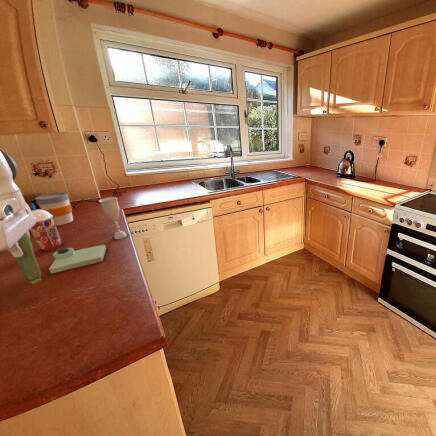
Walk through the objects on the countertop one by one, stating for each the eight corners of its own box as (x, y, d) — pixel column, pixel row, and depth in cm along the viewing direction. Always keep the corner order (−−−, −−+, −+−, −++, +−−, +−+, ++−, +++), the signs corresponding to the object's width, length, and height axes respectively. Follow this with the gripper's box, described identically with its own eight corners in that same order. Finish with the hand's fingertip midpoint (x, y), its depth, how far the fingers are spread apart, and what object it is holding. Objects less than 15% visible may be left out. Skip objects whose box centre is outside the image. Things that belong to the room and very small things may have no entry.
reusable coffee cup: (78, 216, 140) (68, 190, 134) (76, 222, 130) (65, 195, 125) (49, 221, 133) (37, 195, 127) (45, 229, 124) (32, 201, 118)
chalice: (110, 236, 113) (98, 199, 106) (127, 231, 117) (116, 196, 110) (112, 241, 108) (99, 203, 101) (130, 236, 112) (118, 199, 105)
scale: (49, 274, 86) (45, 265, 84) (59, 258, 96) (55, 250, 94) (102, 261, 93) (99, 253, 91) (106, 247, 103) (103, 240, 101)
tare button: (57, 255, 92) (55, 251, 91) (59, 252, 94) (58, 248, 93) (67, 253, 93) (66, 249, 92) (69, 249, 95) (68, 246, 95)
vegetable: (26, 282, 71) (-7, 219, 63) (46, 275, 74) (17, 214, 66) (30, 288, 68) (-4, 223, 61) (50, 280, 72) (21, 217, 64)
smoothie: (69, 244, 106) (50, 201, 99) (45, 254, 99) (22, 208, 92) (59, 241, 109) (40, 199, 102) (35, 250, 103) (13, 205, 95)
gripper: (1, 196, 69) (22, 239, 74) (-43, 219, 53) (-12, 273, 58) (31, 192, 72) (50, 234, 77) (-2, 214, 55) (25, 265, 61)
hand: (23, 251), depth 67 cm, fingers closed on vegetable, 4 cm apart
